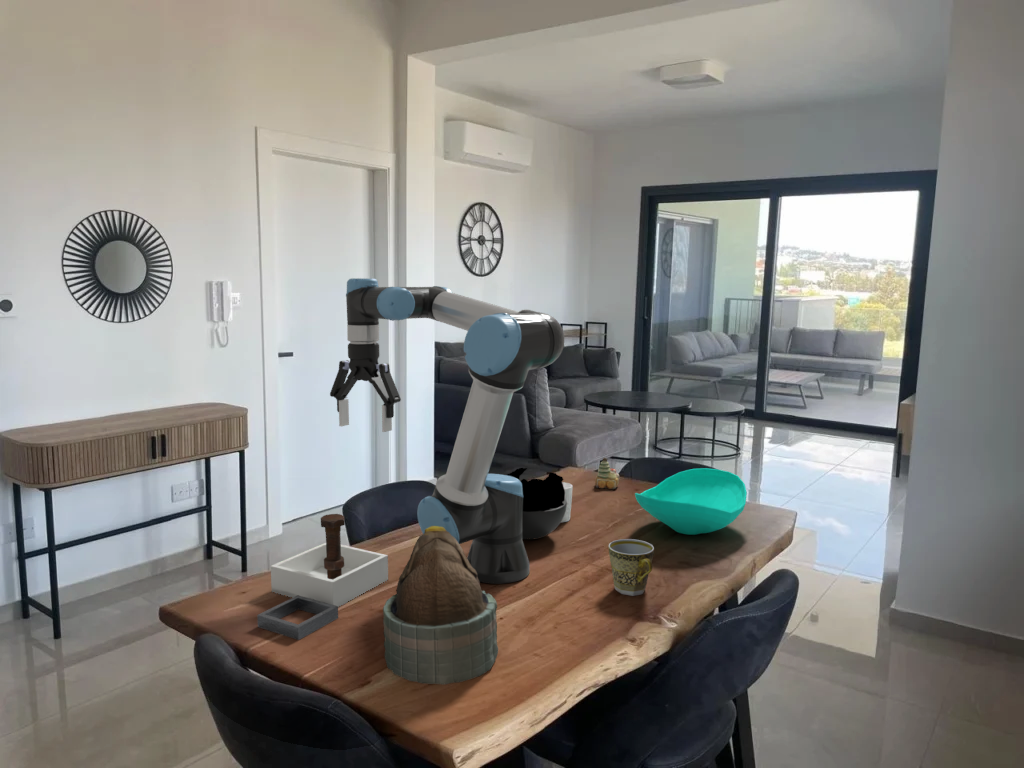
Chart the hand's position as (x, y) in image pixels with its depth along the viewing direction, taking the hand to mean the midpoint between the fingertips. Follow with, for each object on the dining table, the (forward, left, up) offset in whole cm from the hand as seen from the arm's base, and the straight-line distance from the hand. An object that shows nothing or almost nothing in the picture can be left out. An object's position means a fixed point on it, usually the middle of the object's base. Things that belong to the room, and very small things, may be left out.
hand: (365, 428), depth 188 cm
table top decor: (-66, -57, -32) cm, 93 cm away
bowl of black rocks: (-30, -30, -32) cm, 53 cm away
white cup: (-30, -48, -32) cm, 65 cm away
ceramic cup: (-67, -10, -32) cm, 75 cm away
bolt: (-8, +21, -31) cm, 38 cm away
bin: (-7, +21, -32) cm, 39 cm away
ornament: (-29, -87, -32) cm, 97 cm away
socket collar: (-14, +38, -32) cm, 51 cm away
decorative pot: (-45, +33, -32) cm, 64 cm away
